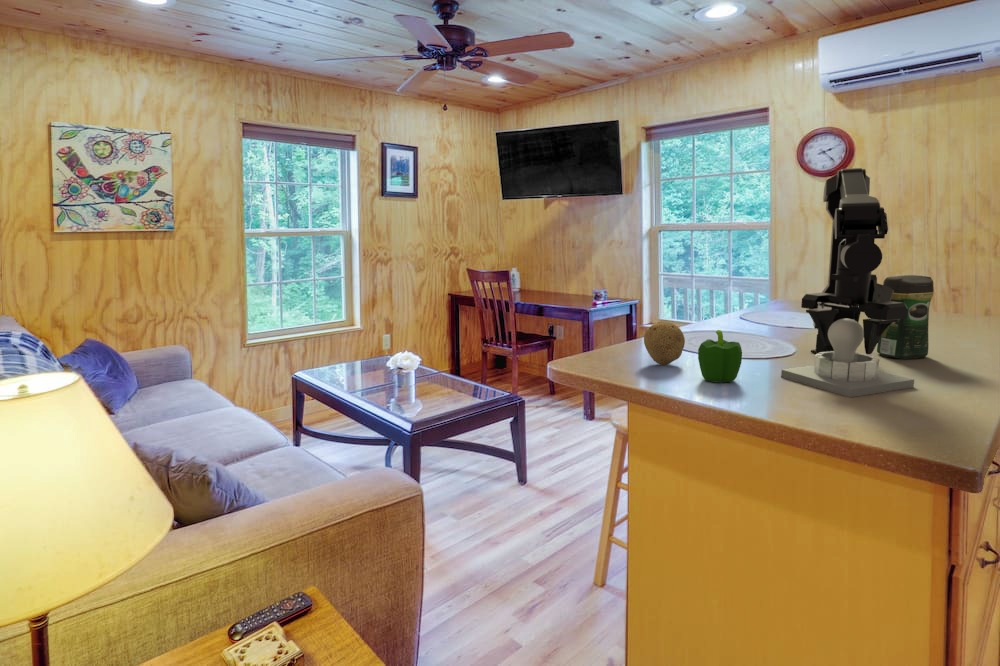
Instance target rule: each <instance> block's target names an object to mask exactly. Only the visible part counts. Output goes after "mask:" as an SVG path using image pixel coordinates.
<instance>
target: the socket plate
mask: <svg viewBox="0 0 1000 666" xmlns="http://www.w3.org/2000/svg"><path fill="white" fill-rule="evenodd" d="M814 367H815V364H813V365H807V366H806V365H805V366H799V367H791V368H784V369H781V373H780V377H781V378H784V379H788V380H791V381H794V382H798V383H801V384H803V385H804V384H805V385H807V386H811V387H813V388H814V387H815V388H817V389H821V390H824V391H828V392H831V393H834V394H838V395H840V396H841V395H842V396H845V397H847V398H855V397H860V396H861V397H862V396H867V395H872V394H879V393H885V392H893V391H898V390H905V389H910V388H914V386H915V385H914V384H915V378H914V379H913V378H909V377H906V376H901V375H897V374H893V373H889V372H885V371H880V370H878V377H877V378H876V379H875V380H871V381H863V382H861V381H842V380H835V379H829V378H826V377H822V376H819V375H817V374H816V373H815V372H814Z"/></svg>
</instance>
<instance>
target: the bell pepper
mask: <svg viewBox="0 0 1000 666" xmlns="http://www.w3.org/2000/svg"><path fill="white" fill-rule="evenodd" d="M715 333H716V334H717V340H716V341H715V340H713V339H710V338H709V339H706V340H704V341H703V342H701V343H700V345H699V346H698V350H697V359H698V364H699V368H700V369H699V370H700V372H701V376H702V378H703V380H705V381H707V382H711V383H721V382H723V383H732V382H734V381H735V380H736V379H737V378H738V374H739V371H740V368H741V366H742V358H743V350H742V347H741V344H740V342H739V341H738V342H737V341H727V340H725V339H724V334H723V331H722V330H721V329H718V330H716V331H715Z"/></svg>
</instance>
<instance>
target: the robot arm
mask: <svg viewBox="0 0 1000 666" xmlns="http://www.w3.org/2000/svg"><path fill="white" fill-rule="evenodd" d="M866 173H867V171H866V168H862V167H854V168H842V169H839V170H837V173H836V174H835V175H834V176H831V177H829V178H828V179H826V181H825V184H824V188H823V197H822V199H823V201H822V202H823V203H825V210H826V212H827V214H828V216H829V217H830V219H831V220H832V225H831V238H830V254H829V264H828V265H829V266H828V276H827V277H828V278H827V279H828V280H827V285H826V286H825V288H824V289H823V290H822V291H821V292H816V293H813V292H812V293H806V294H805V295H803V297H802V298H801V306H800V307H801V309H806V310H805V312H806V313H808V314H809V316H810V318H811V319H812V322H813V324H812V325H813V328H814V329H817V334H816V343H815V349H811V350H810V352H811V353H813V354H817V353H819V352H826V351H834V349H833V346H832V345H831V343H830V341H829V339H828V330H829V327H830V326H831V325H832V324H833V323H834V322H835V321H837V320H840V319H845V318H847V319H852V320H855V321H857V322H858V323H860V322H859V321H860V317H861V313H864V315H865V316H866V318H863V319H862V328H863V330H864V338H863V344H864V345H863V346H864V351H865V354H867V355H872V354H873V352H874V350H875V349H876V348H877V345H878V341H879V339H880V337H881V336H882V334H883V332H884V331H885V329H886V328H887V327H888V326H889V325H891V324H892V323H894V322H898V321H899V320H900V319H903V318H907V312H908V308H907V306H906V305H905V303H902V302H894V301H890V300H891V298H892V295H893V292H894V290H893V289H891V288H889V287H886V286H884V285H883V284H881V283H879V282H878V277H877V274H872V272H873V271H875V270H876V269H877V268H878V267H879V266H880V265H881V263H882V260H883V252H882V249H881V248H880V246H878V245H877V244H876V243H875V241H876V240H877V239H878V240H881V239H882V240H883V239H885V237H886V235H888V231H889V227H888V225H889V224H888V214H887V213H886V211H885V208H884V207H883V206H881V203H880V201H879V199H878V198H877V197H875V196H871V195H870V192H871V191H870V185H871V184H870V183H871V178H870V176H868V175H867V174H866ZM875 239H876V240H875Z"/></svg>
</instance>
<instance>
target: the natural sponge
mask: <svg viewBox="0 0 1000 666" xmlns="http://www.w3.org/2000/svg"><path fill="white" fill-rule="evenodd" d="M685 339H686V338H685V335H684V332H683V331H682V329H681V328H680V327H679V326H678V325H676V324H674V323H673V322H671V321H668V320H659V321H657V322H655V323H653V324H652V325H650V326H648V328H647V329H646V330H645V333H644V335H643V344H644V347H645V349H646V351H647V353H648V355H649V357H650V358H651V359H652V360H653V361H654V362H655V363H656V364H658V365H660V366H668V365H670V364H671V363H673V362H675V361H677V360H678V359H679V358H680V357H681V356H682V353H683V350H684V348H685V342H686V340H685Z"/></svg>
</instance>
